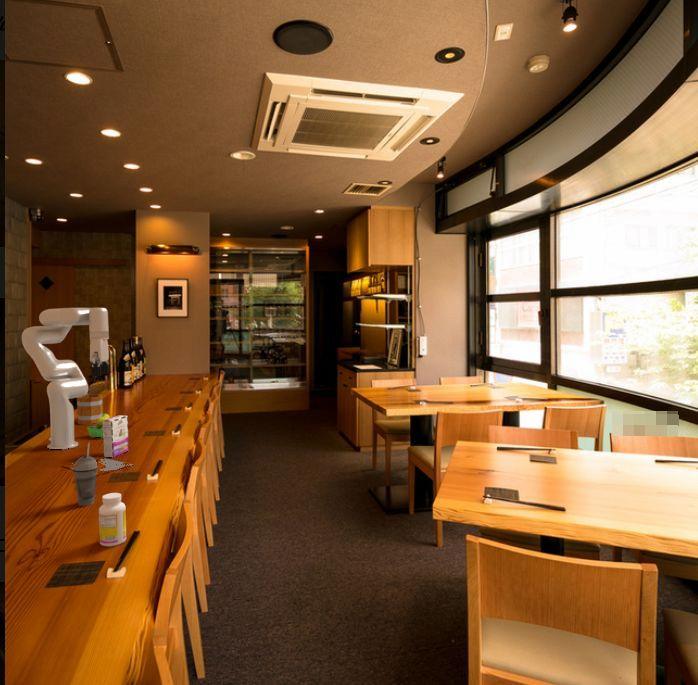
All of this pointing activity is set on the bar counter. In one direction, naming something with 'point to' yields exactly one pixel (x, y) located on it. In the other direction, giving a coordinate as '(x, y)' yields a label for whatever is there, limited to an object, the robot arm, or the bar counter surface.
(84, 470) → the beverage cup
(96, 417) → the mug
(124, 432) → the candy bar box
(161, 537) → the bar counter surface
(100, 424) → the fruit basket
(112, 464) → the mat
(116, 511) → the supplement bottle
